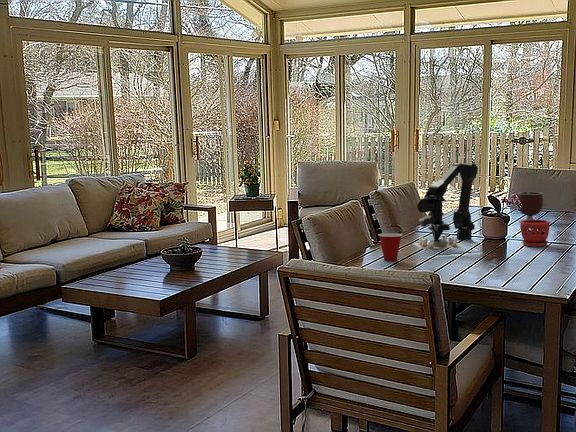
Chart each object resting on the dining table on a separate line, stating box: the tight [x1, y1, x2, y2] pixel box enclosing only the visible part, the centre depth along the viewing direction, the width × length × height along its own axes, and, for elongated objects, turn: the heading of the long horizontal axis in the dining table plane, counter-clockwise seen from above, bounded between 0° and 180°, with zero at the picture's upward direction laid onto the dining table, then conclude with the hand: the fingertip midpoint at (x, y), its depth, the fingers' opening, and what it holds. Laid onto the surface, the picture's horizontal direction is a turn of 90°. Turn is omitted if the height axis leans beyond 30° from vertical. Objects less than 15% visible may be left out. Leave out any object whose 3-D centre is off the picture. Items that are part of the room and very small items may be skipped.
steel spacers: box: [418, 234, 458, 250], centre depth 312 cm, size 17×14×4 cm
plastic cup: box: [377, 232, 403, 262], centre depth 289 cm, size 11×11×12 cm
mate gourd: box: [517, 189, 544, 223], centre depth 375 cm, size 16×14×20 cm
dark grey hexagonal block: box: [433, 238, 448, 247], centre depth 310 cm, size 7×6×2 cm
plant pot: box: [519, 219, 550, 248], centre depth 310 cm, size 13×13×12 cm
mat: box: [434, 251, 472, 257], centre depth 301 cm, size 18×10×1 cm, turn 101°
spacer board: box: [412, 240, 463, 250], centre depth 313 cm, size 20×15×1 cm
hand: (436, 242), depth 314 cm, fingers closed
